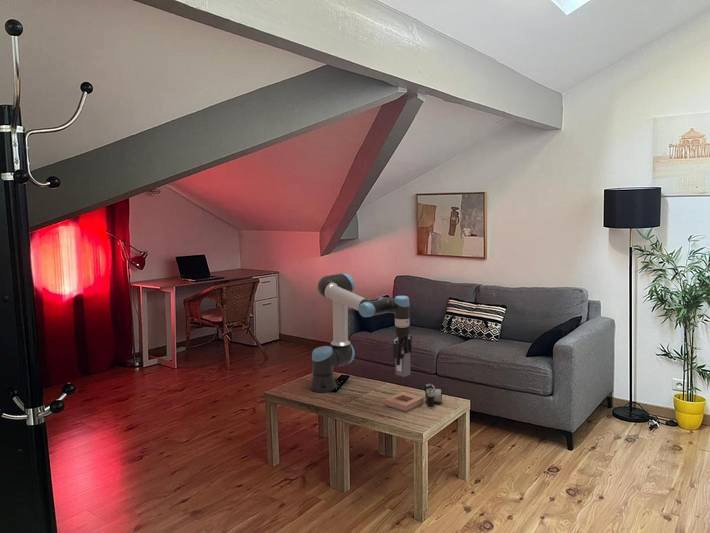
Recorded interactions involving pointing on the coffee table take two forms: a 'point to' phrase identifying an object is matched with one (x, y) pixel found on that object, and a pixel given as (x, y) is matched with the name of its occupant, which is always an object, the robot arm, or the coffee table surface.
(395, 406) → the pink square frame
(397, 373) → the grey wood-topped pillar
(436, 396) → the camera
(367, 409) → the coffee table surface
